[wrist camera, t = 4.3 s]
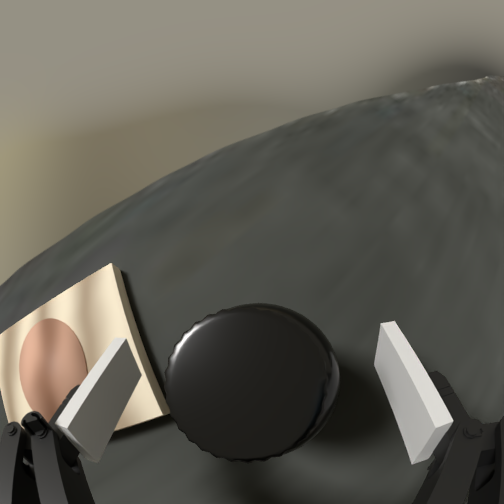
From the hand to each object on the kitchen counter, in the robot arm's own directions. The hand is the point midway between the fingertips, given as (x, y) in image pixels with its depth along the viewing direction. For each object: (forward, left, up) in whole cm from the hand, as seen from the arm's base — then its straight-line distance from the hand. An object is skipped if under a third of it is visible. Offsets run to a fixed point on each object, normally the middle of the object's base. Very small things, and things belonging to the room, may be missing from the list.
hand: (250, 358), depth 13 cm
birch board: (+18, +2, -6) cm, 20 cm away
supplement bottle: (-1, +1, -6) cm, 6 cm away
